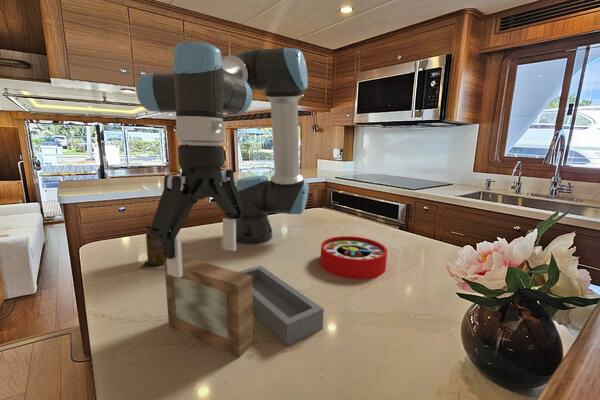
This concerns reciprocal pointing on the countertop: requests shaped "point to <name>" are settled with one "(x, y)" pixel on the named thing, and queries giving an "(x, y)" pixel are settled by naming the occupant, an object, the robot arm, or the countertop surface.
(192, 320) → the walnut frame
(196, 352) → the countertop surface
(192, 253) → the countertop surface
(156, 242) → the condiment
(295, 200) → the robot arm
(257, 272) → the charcoal tray
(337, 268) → the toy clock
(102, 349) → the countertop surface
